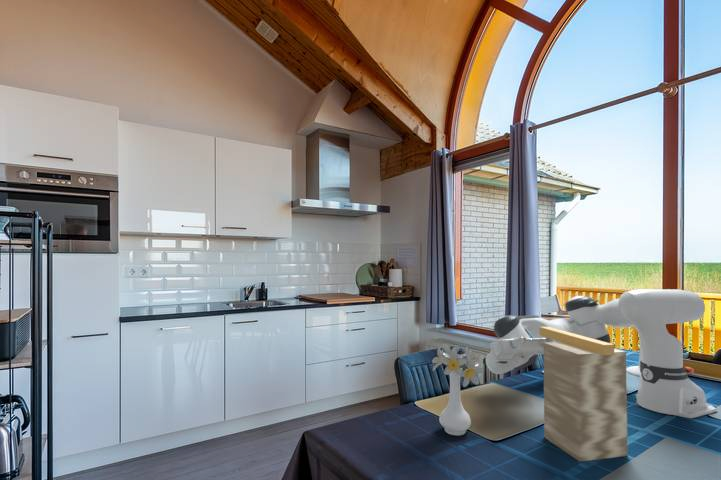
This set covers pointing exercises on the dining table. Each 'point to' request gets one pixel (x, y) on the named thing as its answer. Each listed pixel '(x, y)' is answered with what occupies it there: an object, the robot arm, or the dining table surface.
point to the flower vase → (457, 386)
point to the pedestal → (585, 401)
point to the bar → (578, 340)
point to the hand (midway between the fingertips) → (537, 338)
